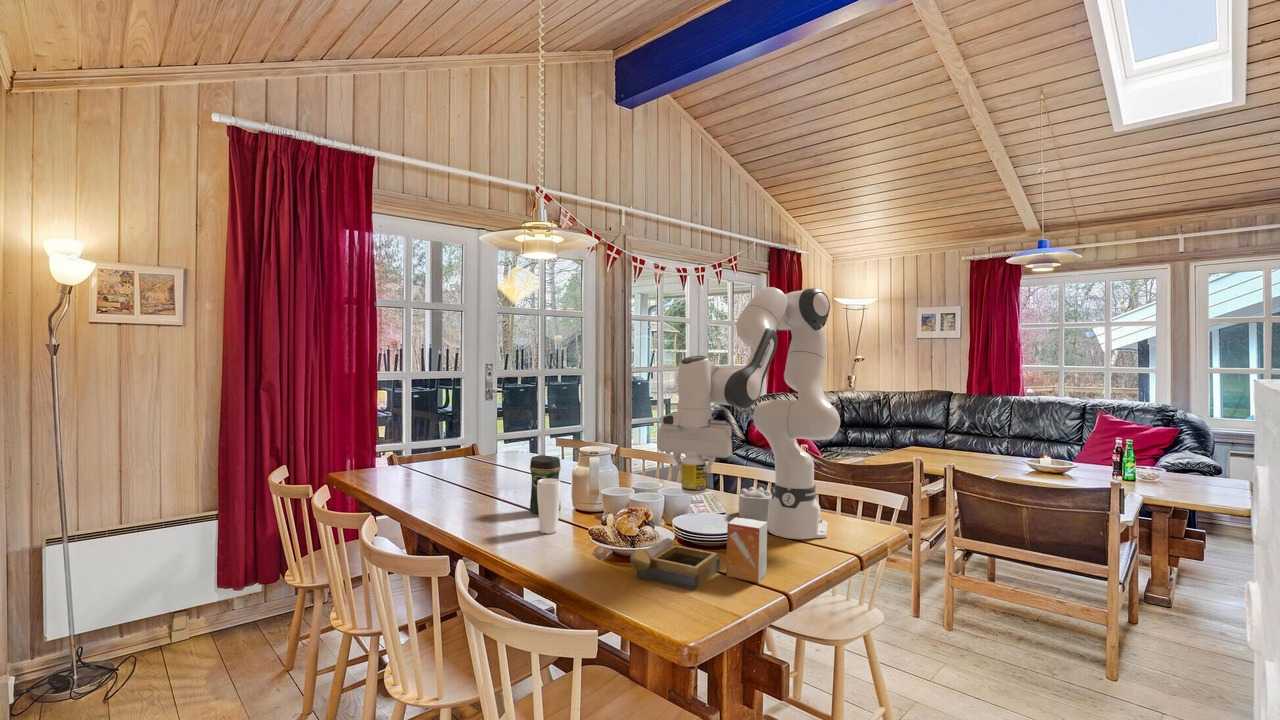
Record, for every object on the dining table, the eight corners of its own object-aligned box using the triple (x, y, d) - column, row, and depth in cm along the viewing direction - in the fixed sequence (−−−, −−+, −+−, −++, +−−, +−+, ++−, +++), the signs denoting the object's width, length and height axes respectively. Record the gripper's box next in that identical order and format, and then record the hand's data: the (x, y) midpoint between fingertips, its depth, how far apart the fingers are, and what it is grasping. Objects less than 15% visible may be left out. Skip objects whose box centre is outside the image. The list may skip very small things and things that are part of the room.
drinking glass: (562, 528, 185) (562, 478, 185) (557, 535, 178) (557, 483, 178) (540, 527, 186) (540, 477, 185) (534, 534, 179) (534, 482, 178)
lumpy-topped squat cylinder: (737, 519, 196) (738, 492, 196) (740, 509, 209) (740, 483, 209) (771, 522, 194) (771, 494, 194) (772, 511, 207) (772, 485, 206)
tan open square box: (662, 557, 160) (662, 531, 160) (719, 569, 152) (720, 541, 152) (630, 578, 146) (630, 548, 146) (691, 592, 138) (692, 561, 138)
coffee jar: (564, 511, 204) (564, 455, 204) (550, 517, 197) (551, 459, 197) (540, 507, 208) (540, 452, 208) (525, 513, 201) (526, 456, 201)
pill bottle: (698, 496, 157) (698, 452, 157) (677, 492, 161) (677, 450, 160) (709, 491, 163) (709, 449, 162) (688, 488, 166) (688, 447, 166)
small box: (725, 577, 148) (726, 522, 147) (735, 568, 153) (735, 516, 153) (758, 583, 144) (759, 527, 143) (767, 574, 149) (767, 521, 149)
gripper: (736, 419, 159) (735, 473, 159) (665, 414, 169) (665, 465, 169) (727, 422, 153) (726, 478, 154) (654, 417, 163) (654, 469, 164)
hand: (693, 471), depth 162 cm, fingers closed on pill bottle, 6 cm apart
